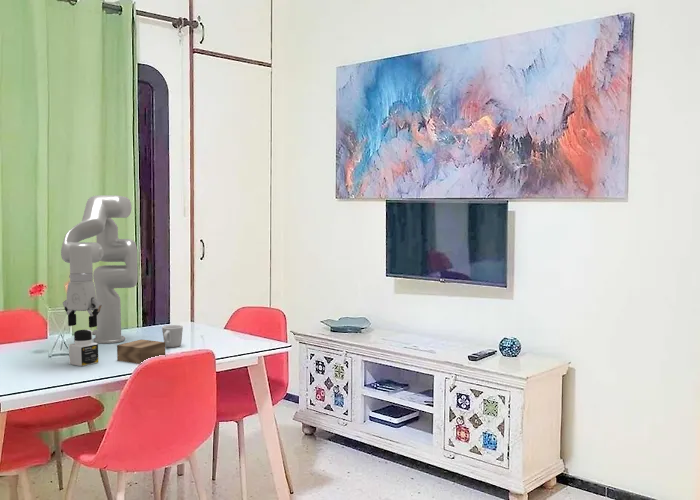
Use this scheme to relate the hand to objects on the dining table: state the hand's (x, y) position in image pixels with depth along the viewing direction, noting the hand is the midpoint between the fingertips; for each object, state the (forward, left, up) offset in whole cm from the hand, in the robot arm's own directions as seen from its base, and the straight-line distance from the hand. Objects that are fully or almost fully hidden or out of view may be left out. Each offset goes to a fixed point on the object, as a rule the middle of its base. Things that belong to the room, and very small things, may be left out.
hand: (82, 326), depth 249 cm
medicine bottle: (0, 0, -14) cm, 14 cm away
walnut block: (+14, +14, -14) cm, 24 cm away
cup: (+10, +36, -14) cm, 40 cm away
